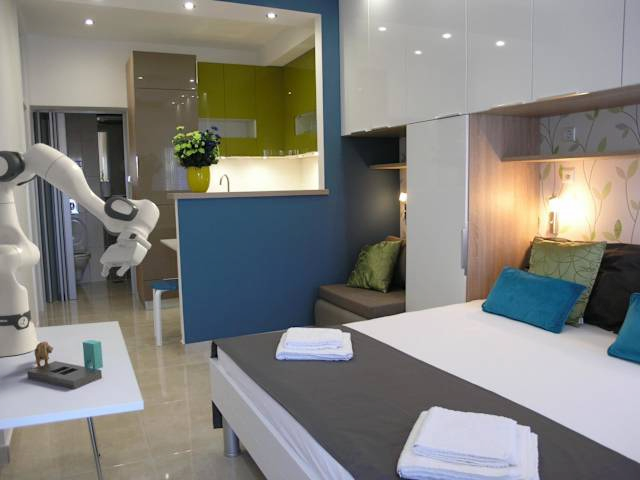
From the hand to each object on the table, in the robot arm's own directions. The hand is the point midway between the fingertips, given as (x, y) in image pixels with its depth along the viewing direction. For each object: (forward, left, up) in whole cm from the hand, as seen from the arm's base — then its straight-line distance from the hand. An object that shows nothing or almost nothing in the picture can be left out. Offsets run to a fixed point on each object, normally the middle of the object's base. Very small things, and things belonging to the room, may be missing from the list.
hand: (111, 275), depth 189 cm
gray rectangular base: (0, -21, -29) cm, 35 cm away
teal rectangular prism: (0, -10, -29) cm, 30 cm away
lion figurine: (-18, -15, -29) cm, 37 cm away
